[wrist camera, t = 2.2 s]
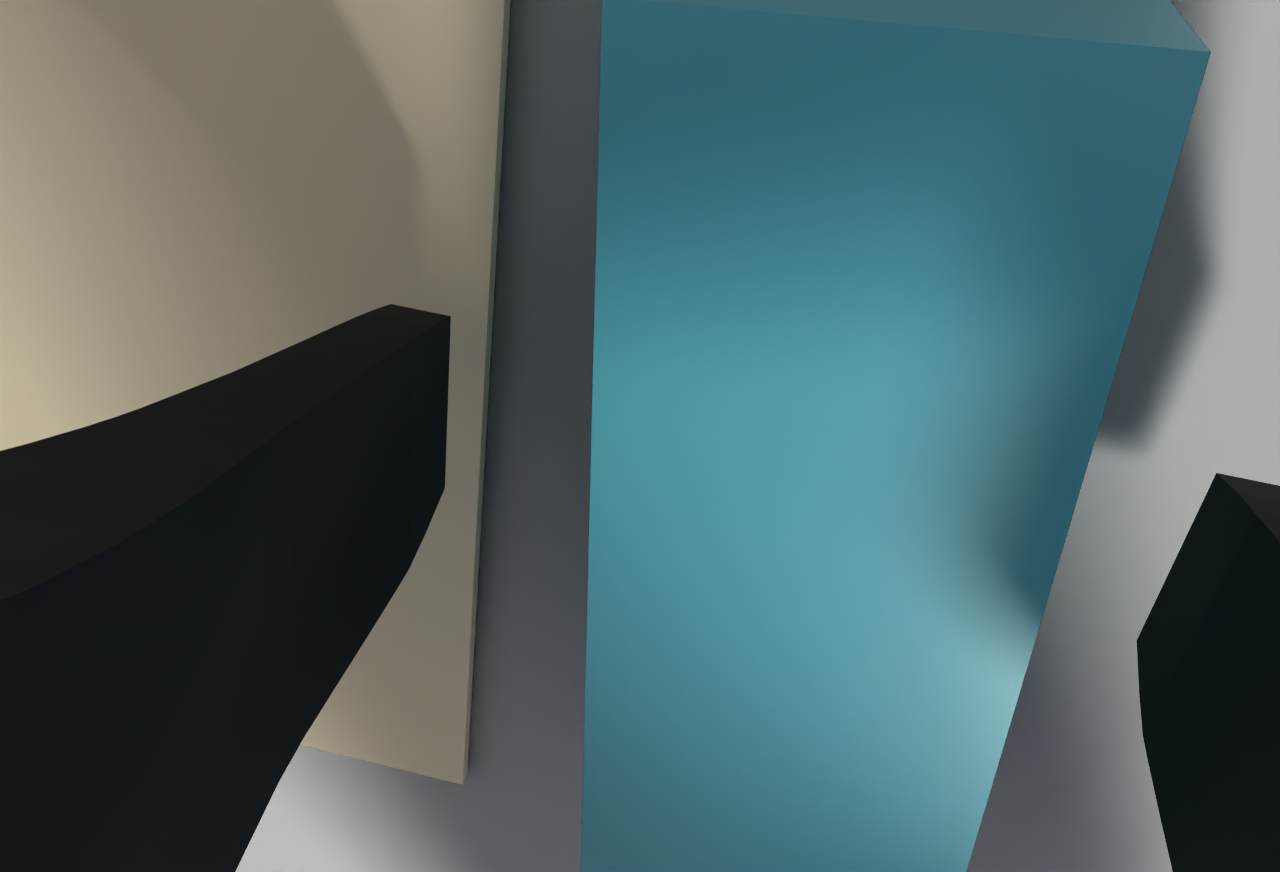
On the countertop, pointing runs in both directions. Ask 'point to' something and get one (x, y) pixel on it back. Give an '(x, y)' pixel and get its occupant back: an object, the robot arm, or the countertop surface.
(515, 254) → the countertop surface
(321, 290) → the kraft paper
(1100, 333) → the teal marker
